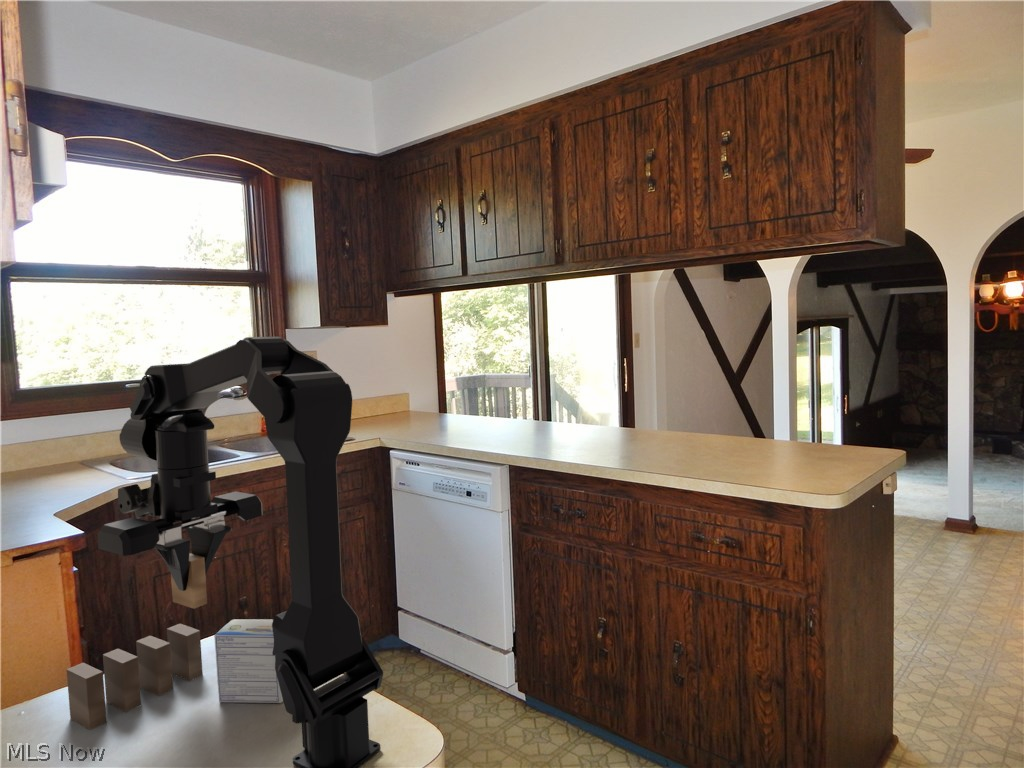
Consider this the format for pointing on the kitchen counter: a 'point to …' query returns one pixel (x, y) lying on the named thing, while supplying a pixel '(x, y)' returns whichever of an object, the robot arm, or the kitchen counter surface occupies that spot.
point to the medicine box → (247, 662)
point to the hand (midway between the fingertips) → (190, 587)
